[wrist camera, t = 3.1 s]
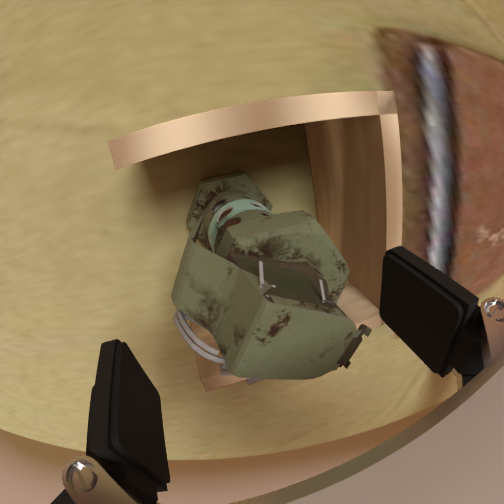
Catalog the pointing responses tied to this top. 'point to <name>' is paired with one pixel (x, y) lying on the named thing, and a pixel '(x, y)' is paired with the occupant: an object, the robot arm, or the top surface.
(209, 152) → the top surface
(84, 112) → the top surface
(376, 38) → the top surface
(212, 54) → the top surface
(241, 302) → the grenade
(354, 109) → the light wood u-shaped frame
